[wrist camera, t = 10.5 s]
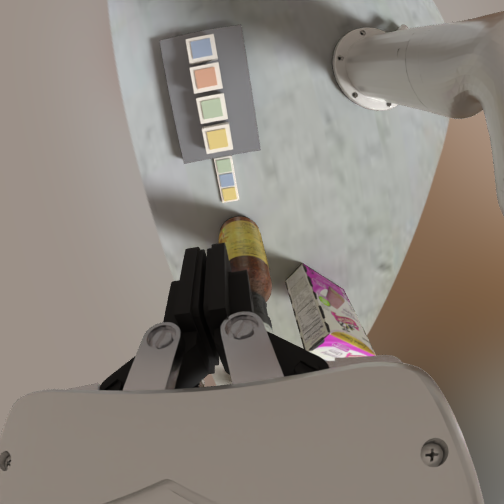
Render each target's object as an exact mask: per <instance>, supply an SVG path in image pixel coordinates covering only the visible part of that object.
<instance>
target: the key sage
mask: <svg viewBox="0 0 504 504" xmlns="http://www.w3.org/2000/svg"><path fill="white" fill-rule="evenodd" d="M196 101H197V106H198V112H199V117H200V122H201V124H204V123H209V122H214V121H220V120H226V119H228V115H227V109H226V103H225V97H224V93H221V94H215V95H210V96H205V97H200V98H196Z"/></svg>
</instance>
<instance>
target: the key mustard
mask: <svg viewBox="0 0 504 504" xmlns="http://www.w3.org/2000/svg"><path fill="white" fill-rule="evenodd" d="M202 132H203V137H204V142H205V148H206V153H207V154H210V153H216V152H221V151H227V150H233V144H232V138H231V132H230V126H229V122H226V123H220V124H215V125H209V126H204V127H203V128H202Z"/></svg>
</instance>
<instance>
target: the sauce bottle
mask: <svg viewBox="0 0 504 504" xmlns="http://www.w3.org/2000/svg"><path fill="white" fill-rule="evenodd" d="M224 242H225V245H226V249H227V253H228V258H229V262H230V267H231V271H232V272H236V271H242V270H247V271H248V276H249V282H250V287H251V293H252V299H253V307H254V313H255V314H257V315H258V316H259V317H260V318H261V319H262V321H263V323H264V326H265V329H266V331H268V332H270V333H272V325H271V320H270V318H269V317H268V314H267V309H266V307H267V303H266V302H267V300H268V299H269V297H270V295H271V290H272V282H271V278H270V270H269V266H268V262H267V258H266V254H265V250H264V246H263V242H262V238H261V233H260V232H259V229H258V226H257V225H256V224H255V222H253V221H252V220H250V219H249V218H246V217H241V216H239V217H234V218H230V219H229V220H227V221H226V222H225V223H224V224H223V226H222V227H221V229H220V234H219V243H224Z"/></svg>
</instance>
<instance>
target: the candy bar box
mask: <svg viewBox="0 0 504 504" xmlns="http://www.w3.org/2000/svg"><path fill="white" fill-rule="evenodd" d="M285 283H286V286H287V290H288V293H289V297H290V300H291V304H292V307H293V311H294V315H295V318H296V322H297V325H298V329H299V332H300V336H301V340H302V344H303V347H304V349H305V350H307V351H309V352H311V353H313V354H315V355H317V356H319V357H321V358H323V359H324V360H325V361H335V358H345V357H365V356H376V355H375V353H374V350H373V348H372V346H371V344H370V342H369V340H368V338H367V336H366V333H365V331H364V329H363V327H362V325H361V323H360V321H359V319H358V317H357V315H356V313H355V311H354V309H353V307H352V305H351V303H350V301H349V299H348V297H347V295H346V293H345V291H344V289H342V288H341V287H339V286H337V285H336V284H334V283H333V282H331V281H329V280H328V279H326V278H325V277H323V276H322V275H320V274H318V273H317V272H315V271H314V270H312V269H311V268H309V267H308V266H306V265H304V264H301V265H300V266H299V267H298V268H297V270H296V271H295V272H294V273H293V274H292V275H291V276H290V277H289V278H288V279H287V280H286V281H285Z"/></svg>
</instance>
